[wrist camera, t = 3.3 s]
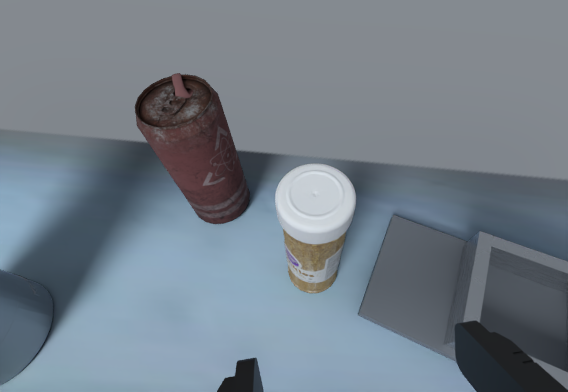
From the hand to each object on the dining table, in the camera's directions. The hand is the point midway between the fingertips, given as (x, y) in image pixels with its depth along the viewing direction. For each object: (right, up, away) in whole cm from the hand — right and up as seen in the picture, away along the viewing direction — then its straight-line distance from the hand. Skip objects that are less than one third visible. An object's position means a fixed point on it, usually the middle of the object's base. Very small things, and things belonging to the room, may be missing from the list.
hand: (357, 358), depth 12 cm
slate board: (+14, -3, +13) cm, 19 cm away
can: (-10, +6, +21) cm, 24 cm away
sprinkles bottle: (0, -1, +16) cm, 16 cm away
